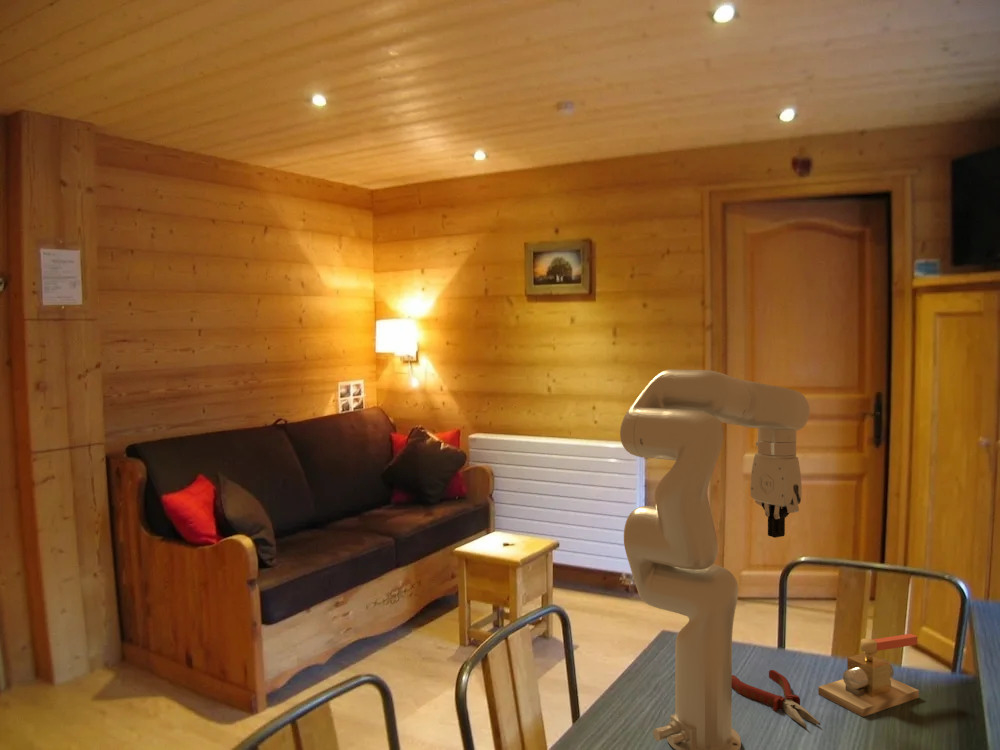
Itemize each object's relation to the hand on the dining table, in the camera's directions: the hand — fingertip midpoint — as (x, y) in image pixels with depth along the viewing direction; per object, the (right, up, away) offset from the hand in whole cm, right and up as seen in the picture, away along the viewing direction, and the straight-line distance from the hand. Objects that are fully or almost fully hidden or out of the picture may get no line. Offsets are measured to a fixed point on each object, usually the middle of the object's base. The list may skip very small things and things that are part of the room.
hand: (776, 535), depth 155 cm
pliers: (-5, -31, -11) cm, 33 cm away
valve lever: (+19, -20, -9) cm, 29 cm away
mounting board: (+15, -29, -9) cm, 34 cm away
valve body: (+15, -28, -10) cm, 33 cm away
